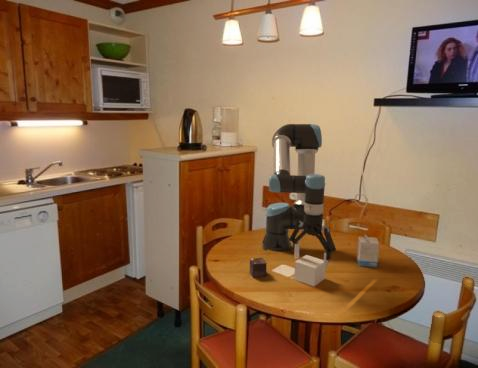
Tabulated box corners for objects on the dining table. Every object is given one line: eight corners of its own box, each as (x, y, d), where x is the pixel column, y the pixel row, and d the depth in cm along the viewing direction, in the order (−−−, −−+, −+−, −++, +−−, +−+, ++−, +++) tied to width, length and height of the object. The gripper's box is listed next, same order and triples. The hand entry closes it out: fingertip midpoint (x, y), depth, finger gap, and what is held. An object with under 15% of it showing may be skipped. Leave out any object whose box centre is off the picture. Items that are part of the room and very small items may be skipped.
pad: (271, 271, 153) (271, 270, 153) (282, 264, 159) (282, 264, 159) (288, 277, 147) (288, 277, 147) (299, 270, 154) (299, 270, 154)
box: (266, 279, 147) (266, 263, 146) (252, 280, 146) (253, 264, 145) (262, 272, 153) (262, 257, 152) (249, 274, 152) (249, 258, 150)
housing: (294, 279, 145) (295, 261, 143) (305, 271, 152) (306, 254, 150) (314, 286, 139) (315, 268, 137) (324, 278, 146) (326, 260, 144)
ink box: (377, 267, 160) (380, 240, 157) (358, 265, 161) (361, 238, 159) (374, 260, 168) (376, 233, 165) (356, 258, 170) (358, 232, 167)
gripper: (282, 209, 145) (280, 256, 149) (338, 221, 129) (334, 274, 133) (292, 205, 150) (289, 252, 154) (346, 216, 134) (343, 268, 138)
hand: (310, 262), depth 143 cm, fingers open, 13 cm apart
